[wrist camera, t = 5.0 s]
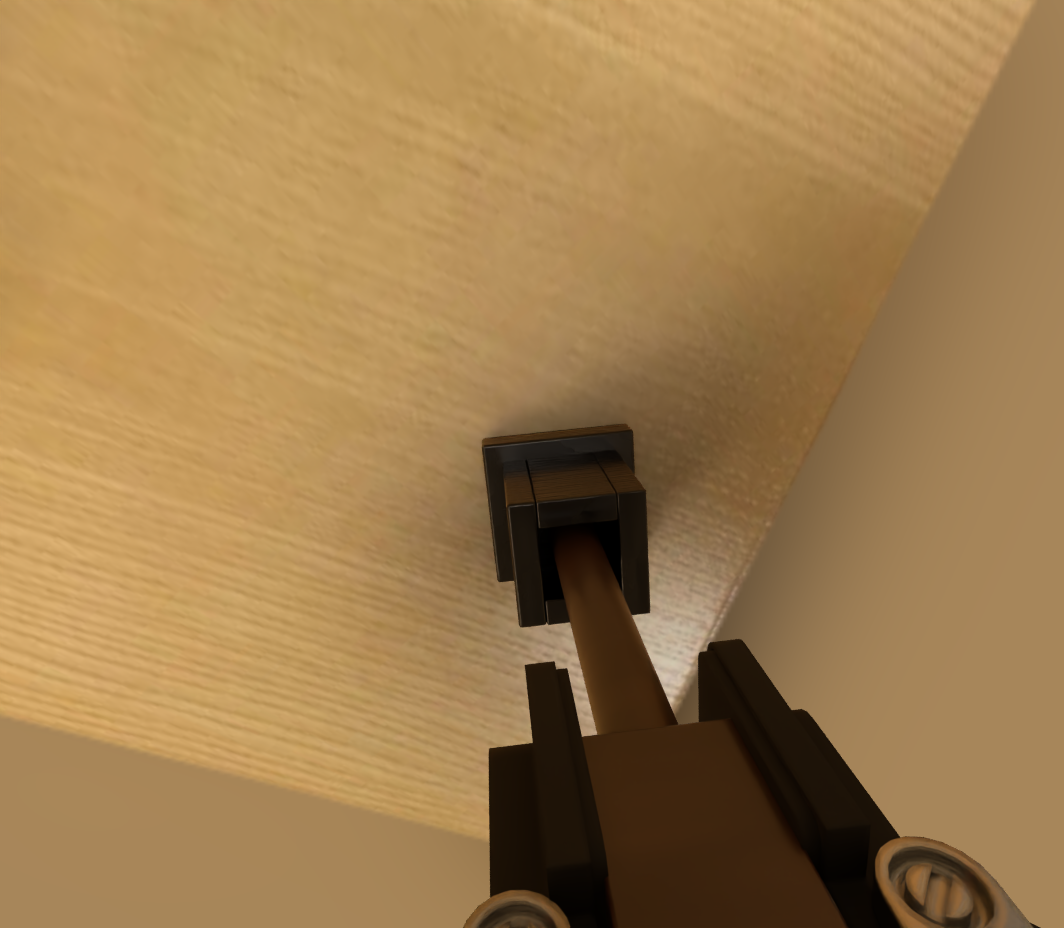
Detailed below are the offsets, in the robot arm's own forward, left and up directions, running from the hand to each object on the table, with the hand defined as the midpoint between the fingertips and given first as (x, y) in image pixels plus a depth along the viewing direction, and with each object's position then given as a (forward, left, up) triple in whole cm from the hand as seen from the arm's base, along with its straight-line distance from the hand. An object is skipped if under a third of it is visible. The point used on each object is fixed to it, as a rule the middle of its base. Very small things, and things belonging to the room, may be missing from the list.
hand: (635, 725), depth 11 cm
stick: (0, 0, -11) cm, 11 cm away
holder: (0, 0, -12) cm, 12 cm away
